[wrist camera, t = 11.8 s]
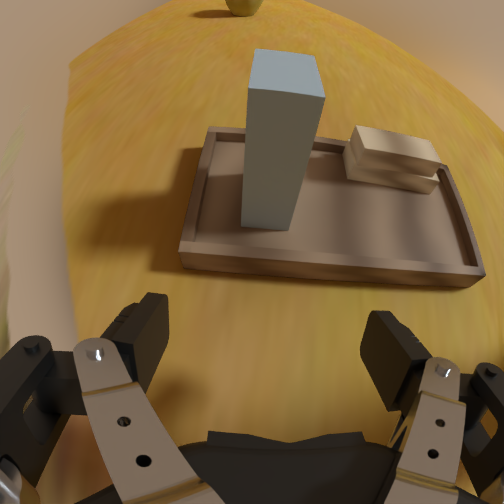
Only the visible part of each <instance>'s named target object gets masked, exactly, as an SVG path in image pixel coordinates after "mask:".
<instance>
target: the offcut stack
mask: <svg viewBox="0 0 504 504" xmlns="http://www.w3.org/2000/svg"><path fill="white" fill-rule="evenodd" d="M342 155H343V160H344V165H345V170H346V175H347V179H350V180H356V181H362V182H368V183H374V184H380V185H385V186H390V187H396V188H401V189H406V190H411V191H415V192H420V193H425V194H429V195H430V194H431V193H432V191H433V190H434V189H435V187H436V186H437V184H438V183H439V182H440V181H439V179H438V176H437V174H436V172H437V170H438V169H439V167H440V166H441V164H442V162H441V160H440V158H439V156H438V155H437V153H436V151H435V149H434V147H433V146H432V144H431V142H430V141H429V140H425V139H421V138H417V137H413V136H408V135H404V134H399V133H395V132H390V131H385V130H380V129H375V128H369V127H364V126H358V125H355V128H354V131H353V133H352V136H351V139H348V141H347V144H346V146H345V149H344V152H343V154H342Z"/></svg>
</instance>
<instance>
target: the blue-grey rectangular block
mask: <svg viewBox="0 0 504 504" xmlns="http://www.w3.org/2000/svg"><path fill="white" fill-rule="evenodd" d="M324 101H325V94H324V90H323V86H322V82H321V79H320V75H319V71H318V68H317V64H316V61H315V57H314V56H311V55H305V54H299V53H291V52H284V51H275V50H265V49H255V54H254V59H253V64H252V70H251V75H250V81H249V87H248V100H247V117H246V134H245V152H244V171H243V190H242V211H241V227H251V228H262V229H273V230H283V231H288V230H289V227H290V224H291V220H292V217H293V213H294V210H295V207H296V203H297V200H298V196H299V193H300V189H301V186H302V182H303V179H304V175H305V172H306V168H307V164H308V161H309V157H310V154H311V150H312V146H313V143H314V139H315V135H316V132H317V128H318V124H319V120H320V117H321V113H322V109H323V105H324Z"/></svg>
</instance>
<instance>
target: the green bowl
mask: <svg viewBox="0 0 504 504" xmlns="http://www.w3.org/2000/svg"><path fill="white" fill-rule="evenodd" d="M225 1H226V4H227V6H228V8H229V9H230V11H231V13H232V14H233V15H236V16H252V15H254V14H255V13H256V11H257V10H258V9H259V7H260V6H261V4H262V2H263V0H225Z"/></svg>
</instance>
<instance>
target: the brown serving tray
mask: <svg viewBox="0 0 504 504" xmlns="http://www.w3.org/2000/svg"><path fill="white" fill-rule="evenodd" d="M245 134H246V129H245V128H230V127H209V128H208V131H207V135H206V138H205V142H204V146H203V149H202V153H201V157H200V160H199V164H198V168H197V172H196V176H195V180H194V184H193V188H192V192H191V196H190V200H189V204H188V209H187V213H186V217H185V222H184V226H183V231H182V235H181V240H180V245H179V250H178V253H179V256H180V259H181V262H182V265H183V268H186V269H197V270H208V271H219V272H231V273H242V274H254V275H267V276H280V277H293V278H307V279H321V280H336V281H352V282H369V283H386V284H405V285H426V286H450V287H471V286H472V285H474V284H475V283H477V282H478V281H479V280H481V279H482V278H484V277H485V276H486V273H485V269H484V265H483V262H482V258H481V255H480V251H479V248H478V244H477V241H476V238H475V235H474V232H473V229H472V226H471V223H470V220H469V217H468V215H467V212H466V209H465V207H464V204H463V202H462V199H461V197H460V194H459V192H458V189H457V187H456V185H455V182H454V180H453V178H452V175H451V173H450V171H449V169H448V167H447V165H443V164H441V166H440V167H439V169H438V170H437V172H436V174H437V176H438V179H439V181H440V182H439V183H438V184H437V186H436V187H435V189H434V190H433V191H432V193H431V194H430V195H429V194H425V193H420V192H415V191H411V190H406V189H401V188H396V187H390V186H385V185H380V184H374V183H368V182H362V181H356V180H350V179H347V175H346V170H345V165H344V160H343V155H342V154H343V152H344V149H345V146H346V144H347V141H342V140H336V139H330V138H324V137H317V136H315V139H314V143H313V146H312V150H311V154H310V157H309V161H308V164H307V168H306V172H305V175H304V179H303V182H302V186H301V189H300V193H299V196H298V200H297V203H296V207H295V210H294V213H293V217H292V220H291V224H290V227H289V230H288V231H283V230H273V229H262V228H251V227H241V211H242V190H243V171H244V152H245Z"/></svg>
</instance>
